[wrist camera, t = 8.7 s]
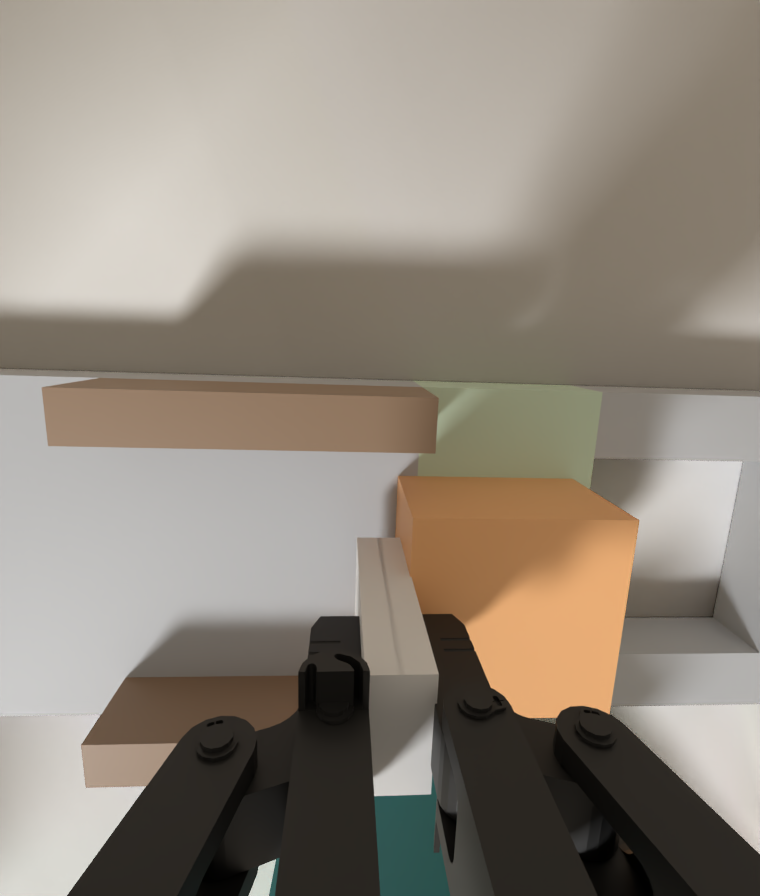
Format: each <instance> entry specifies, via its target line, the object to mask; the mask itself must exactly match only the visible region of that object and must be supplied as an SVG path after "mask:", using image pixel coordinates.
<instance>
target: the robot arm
mask: <svg viewBox="0 0 760 896" xmlns="http://www.w3.org/2000/svg"><path fill="white" fill-rule="evenodd" d="M432 775H433V780H434V785H435V790H436V795H437V802H436V817H435V831H434V853H439V851H440V844H441V850H442V855H443V860H444V865H445V871H446V876H447V881H448V886H449V892H450V896H760V854H759V853H758V852H757V851H756V850H754V849H753V848H752V847H751V846H750V845H749V844H748V843H747V842H746V841H745V840H744V839H743V838H742V837H741V836H740V835H739V834H738V833H737V832H736V831H735V830H734V829H733V828H732V827H730V826H729V825H728V824H727V823H726V822H725V821H724V820H723V819H722V818H721V817H720V816H719V815H718V814H717V813H716V812H715V811H714V810H713V809H712V808H711V807H710V806H709V805H707V804H706V803H705V802H704V801H703V800H702V799H701V798H700V797H699V796H698V795H697V794H696V793H695V792H694V791H693V790H692V789H691V788H690V787H689V786H688V785H687V784H686V783H685V782H683V781H682V780H681V779H680V778H679V777H678V776H677V775H676V774H675V773H674V772H673V771H672V770H671V769H670V768H669V767H668V766H667V765H666V764H665V763H664V762H663V761H662V760H660V759H659V758H658V757H657V756H656V755H655V754H654V753H653V752H652V751H651V750H650V749H649V748H648V747H647V746H646V745H645V744H644V743H643V742H642V741H641V740H640V739H639V738H638V737H636V736H635V735H634V734H633V733H632V732H631V731H630V730H629V729H628V728H627V727H626V726H625V725H624V724H623V723H621V722H620V721H619V720H617V719H616V718H615V717H613V716H612V715H610V714H608V713H606V712H603V711H601V710H599V709H596V708H591V707H587V706H570V707H568V708H566V709H564V710H562V711H561V712H560V713H559V715H558V717H557V718H556V724H552V723H548V722H543V721H539V720H534V719H531V718H527V717H524V716H521V715H519V714H517V713H515V712H514V711H513V708H512V706H511V705H510V703H509V702H508V701H507V699H506V698H505V696H503V695H502V694H500V693H499V692H498V691H496V690H495V689H492V688H491V687H490V684H489V682H488V680H487V677H486V675H485V673H484V670H483V668H482V665H481V663H480V661H479V658H478V656H477V653H476V651H475V650H474V646H473V644H472V642H471V640H470V637H469V634H468V632H467V630H466V627H465V625H464V624H463V623H462V622H461V621H460V620H458V619H457V618H456V617H455V616H454V615H453V614H422V613H421V609H420V605H419V602H418V598H417V595H416V591H415V588H414V584H413V581H412V577H410V574H409V571H408V567H407V563H406V559H405V555H404V551H403V547H402V544H401V540H400V538H359V537H357V549H356V591H355V616H320V618H319V619H318V620H317V621H316V622H315V624H314V625H313V626H312V627H311V633H310V642H309V650H308V659H306V660H305V661H304V662H303V663H302V665H301V667H300V669H299V671H298V709H297V711H296V712H295V713H294V714H293V715H292V716H290V717H289V718H288V719H286V720H285V721H283V722H281V723H279V724H277V725H274V726H271V727H269V728H265V729H262V730H258V731H255V728H254V727H253V726H252V725H251V724H250V723H249V722H248V721H247V720H245V719H242V718H239V717H236V716H218V717H214V718H211V719H207V720H204V721H203V722H201V723H199V724H197V725H195V726H194V727H192V728H191V729H190V730H189V731H188V732H187V733H186V734H185V735H184V736H183V737H182V738H181V739H180V741H179V742H178V744H177V745H176V746H175V748H174V749H173V750H172V752H171V753H170V755H169V756H168V757H167V759H166V760H165V761H164V763H163V764H162V766H161V767H160V768H159V770H158V771H157V772H156V774H155V775H154V777H153V778H152V779H151V781H150V782H149V784H148V785H147V786H146V788H145V789H144V790H143V792H142V793H141V795H140V796H139V797H138V799H137V800H136V801H135V803H134V804H133V806H132V807H131V808H130V810H129V811H128V812H127V814H126V815H125V817H124V818H123V819H122V821H121V822H120V823H119V825H118V826H117V828H116V829H115V830H114V832H113V833H112V834H111V836H110V837H109V839H108V840H107V841H106V843H105V844H104V846H103V847H102V848H101V850H100V851H99V852H98V854H97V855H96V857H95V858H94V859H93V861H92V862H91V863H90V865H89V866H88V868H87V869H86V870H85V872H84V873H83V874H82V876H81V877H80V879H79V880H78V881H77V883H76V884H75V885H74V887H73V888H72V890H71V891H70V892H69V894H68V895H67V896H248V895H249V893H250V890H251V888H252V885H253V883H254V880H255V878H256V875H257V871H258V866H259V865H262V864H265V863H267V862H270V861H272V860H275V859H277V858H280V859H279V867H278V874H277V882H276V890H275V896H380V881H379V865H378V848H377V832H376V816H375V800H374V796H399V795H427V794H431V787H432Z"/></svg>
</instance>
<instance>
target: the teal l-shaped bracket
mask: <svg viewBox="0 0 760 896" xmlns="http://www.w3.org/2000/svg"><path fill="white" fill-rule="evenodd" d="M374 800H375V816H376V832H377V848H378V865H379V881H380V896H450V892H449V886H448V881H447V876H446V871H445V865H444V860H443V855H442V850H441V844H440V851H439V853H434V831H435V817H436V802H437V795H436V790H435V785H434V780H433V775H432V787H431V794H427V795H399V796H374ZM279 859H280V858H277V859H276V863H275V868H274V874H273V879H272V884H271V889H270V894H269V896H275V890H276V882H277V874H278V867H279Z"/></svg>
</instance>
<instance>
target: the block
mask: <svg viewBox="0 0 760 896" xmlns="http://www.w3.org/2000/svg"><path fill="white" fill-rule="evenodd" d="M638 526H639V520H638V519H636V518H635V517H633V516H631V515H630V514H628V513H627V512H625V511H623V510H622V509H620V508H619V507H617V506H615V505H614V504H612V503H611V502H609V501H607V500H606V499H604V498H603V497H601V496H599V495H598V494H596V493H595V492H593V491H591V490H590V489H588V488H587V487H585V486H583V485H582V484H580V483H579V482H577V481H575V480H574V479H559V478H499V477H439V476H398V484H397V507H396V529H395V538H400V540H401V544H402V547H403V551H404V555H405V559H406V563H407V567H408V571H409V574H410V577H412V581H413V584H414V588H415V591H416V595H417V598H418V602H419V605H420V609H421V613H422V614H453V615H454V616H455V617H456V618H457V619H458V620H460V621H461V622H462V623H463V624H464V625H465V627H466V630H467V632H468V634H469V637H470V640H471V642H472V644H473V646H474V650H475V651H476V653H477V656H478V658H479V661H480V663H481V665H482V668H483V670H484V673H485V675H486V677H487V680H488V682H489V684H490V687H491V688H492V689H495V690H496V691H498V692H499V693H500V694H502V695H503V696H505V698H506V699H507V701H508V702H509V703H510V705H511V706H512V708H513V711H514V712H515V713H517V714H519V715H521V716H524V717H527V718H557V717H558V715H559V713H560V712H561V711H562V710H564V709H566V708H568V707H570V706H587V707H591V708H596V709H599V710H601V711H603V712H606V713H608V714H610V708H611V702H612V695H613V689H614V682H615V676H616V669H617V663H618V656H619V650H620V643H621V637H622V630H623V624H624V617H625V611H626V604H627V598H628V591H629V585H630V578H631V572H632V565H633V559H634V552H635V546H636V539H637V533H638Z"/></svg>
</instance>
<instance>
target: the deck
mask: <svg viewBox="0 0 760 896" xmlns="http://www.w3.org/2000/svg"><path fill="white" fill-rule="evenodd" d="M594 459H644V460H696V461H743V465H742V470H741V476H740V481H739V486H738V491H737V496H736V501H735V506H734V511H733V517H732V522H731V527H730V532H729V537H728V542H727V547H726V552H725V557H724V563H723V568H722V573H721V578H720V583H719V588H718V593H717V598H716V604H715V609H714V614H713V617H661V618H624V624H623V630H622V637H621V643H620V650H619V656H618V663H617V669H616V676H615V682H614V689H613V695H612V702H611V706H666V705H729V704H760V391H749V390H715V389H681V388H647V387H613V386H579V385H545V384H511V383H477V382H443V381H409V380H374V379H340V378H306V377H272V376H238V375H204V374H170V373H136V372H102V371H68V370H34V369H0V716H45V715H101V716H100V717H99V719H98V720H97V722H96V723H95V725H94V726H93V728H92V729H91V731H90V732H89V734H88V735H87V737H86V739H85V740H84V742H83V743H82V745H81V749H82V758H83V767H84V776H85V785H86V788H91V787H130V786H147V785H148V784H149V782H150V781H151V779H152V778H153V777H154V775H155V774H156V772H157V771H158V770H159V768H160V767H161V766H162V764H163V763H164V761H165V760H166V759H167V757H168V756H169V755H170V753H171V752H172V750H173V749H174V748H175V746H176V745H177V744H178V742H179V741H180V739H181V738H182V737H183V736H184V735H185V734H186V733H187V732H188V731H189V730H190V729H191V728H192V727H194V726H195V725H197V724H199V723H201V722H203V721H204V720H207V719H211V718H214V717H218V716H236V717H239V718H242V719H245V720H247V721H248V722H249V723H250V724H251V725H252V726H253V727H254V728H255V731H258V730H262V729H265V728H269V727H271V726H274V725H277V724H279V723H281V722H283V721H285V720H286V719H288V718H289V717H290V716H292V715H293V714H294V713H295V712H296V711H297V709H298V671H299V669H300V667H301V665H302V663H303V662H304V661H305V660H306V659H308V650H309V642H310V633H311V627H312V626H313V625H314V624H315V622H316V621H317V620H318V619H319V618H320V616H355V591H356V549H357V537H359V538H395V529H396V507H397V484H398V476H439V477H499V478H559V479H574V480H575V481H577V482H579V483H580V484H582V485H583V486H585V487H587V488H588V489H590V486H591V478H592V471H593V463H594Z"/></svg>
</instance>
